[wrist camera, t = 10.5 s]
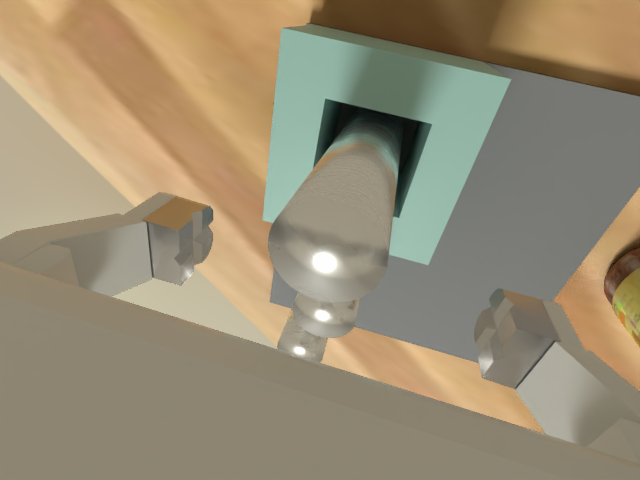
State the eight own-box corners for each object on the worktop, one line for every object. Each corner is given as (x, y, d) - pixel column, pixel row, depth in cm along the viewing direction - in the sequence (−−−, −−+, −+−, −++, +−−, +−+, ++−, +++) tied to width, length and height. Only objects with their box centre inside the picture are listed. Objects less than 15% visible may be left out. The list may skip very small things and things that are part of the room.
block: (424, 211, 23) (427, 265, 18) (293, 178, 24) (262, 220, 19) (483, 62, 18) (511, 79, 13) (315, 25, 19) (281, 27, 14)
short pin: (333, 312, 30) (318, 372, 25) (297, 302, 30) (275, 359, 25) (341, 284, 28) (326, 342, 23) (303, 273, 28) (280, 328, 23)
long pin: (410, 109, 20) (405, 217, 8) (394, 162, 22) (370, 316, 10) (355, 96, 20) (274, 183, 8) (343, 149, 22) (262, 283, 10)
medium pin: (365, 250, 26) (347, 344, 18) (323, 238, 26) (288, 327, 18) (377, 212, 24) (362, 300, 16) (332, 200, 24) (297, 282, 17)
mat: (499, 363, 29) (500, 369, 29) (272, 297, 31) (269, 302, 31) (690, 106, 18) (698, 109, 17) (309, 23, 19) (306, 22, 19)
